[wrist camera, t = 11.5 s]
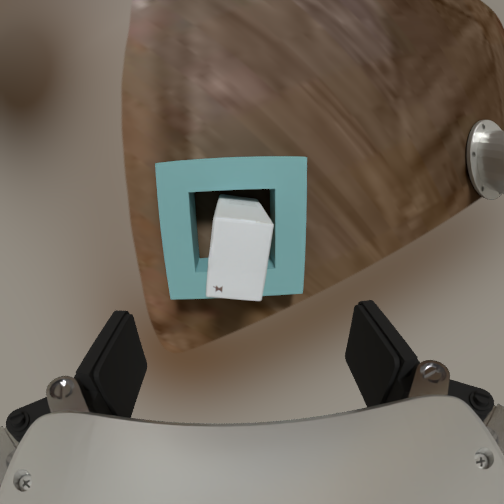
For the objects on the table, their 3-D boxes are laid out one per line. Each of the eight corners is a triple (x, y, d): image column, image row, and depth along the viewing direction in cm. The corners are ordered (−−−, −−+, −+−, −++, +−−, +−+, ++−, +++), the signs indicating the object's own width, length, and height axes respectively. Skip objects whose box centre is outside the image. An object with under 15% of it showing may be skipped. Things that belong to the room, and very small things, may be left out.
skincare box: (251, 250, 31) (261, 304, 20) (213, 246, 31) (203, 299, 20) (259, 196, 29) (276, 223, 18) (219, 192, 29) (210, 216, 18)
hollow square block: (297, 156, 28) (306, 156, 24) (295, 277, 33) (302, 293, 29) (165, 162, 27) (155, 163, 24) (177, 282, 32) (170, 299, 28)
